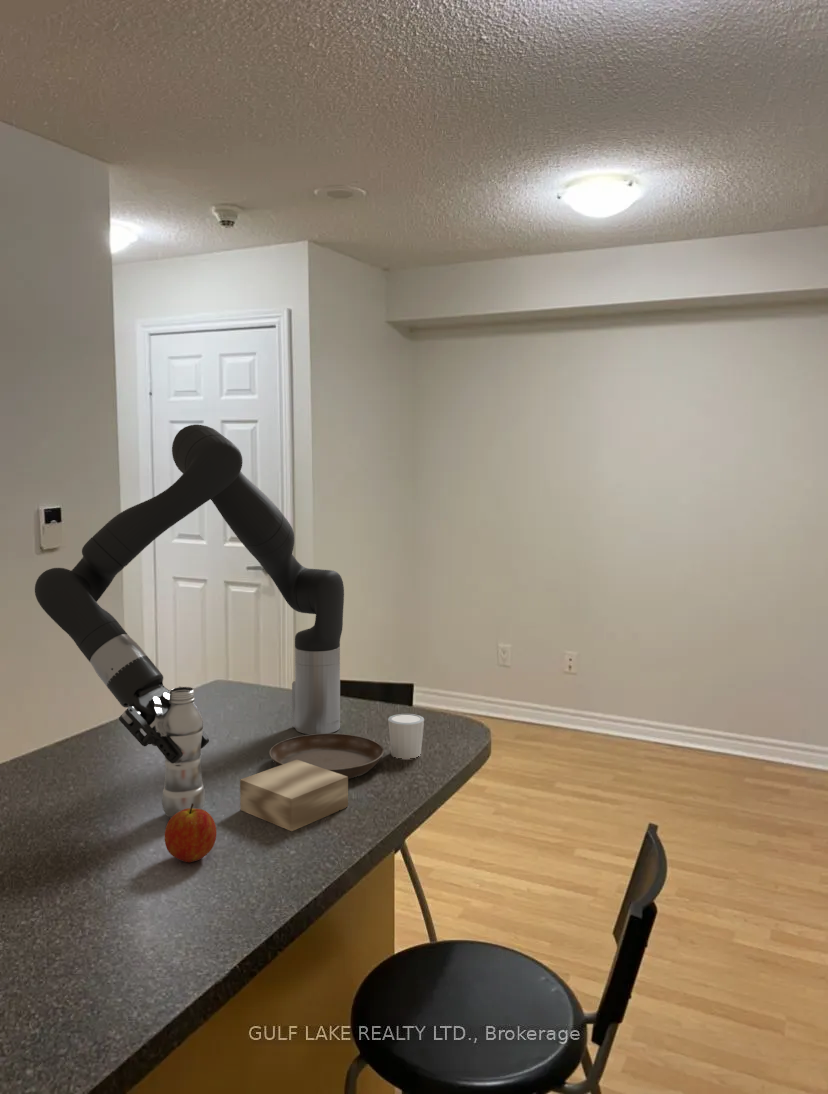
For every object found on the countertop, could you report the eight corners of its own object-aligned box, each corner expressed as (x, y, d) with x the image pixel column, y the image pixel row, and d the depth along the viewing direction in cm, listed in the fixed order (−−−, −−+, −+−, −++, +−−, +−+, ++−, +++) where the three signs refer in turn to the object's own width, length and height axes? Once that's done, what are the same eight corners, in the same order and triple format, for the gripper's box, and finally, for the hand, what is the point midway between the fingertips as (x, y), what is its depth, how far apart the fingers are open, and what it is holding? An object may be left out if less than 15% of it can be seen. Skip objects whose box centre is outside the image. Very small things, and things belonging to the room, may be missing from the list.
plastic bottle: (214, 810, 134) (212, 686, 132) (189, 827, 127) (187, 697, 125) (179, 804, 136) (176, 682, 134) (153, 821, 129) (150, 693, 127)
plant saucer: (322, 741, 168) (322, 725, 168) (406, 763, 156) (406, 745, 156) (245, 770, 151) (245, 753, 151) (332, 797, 139) (332, 778, 139)
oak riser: (240, 810, 134) (240, 779, 133) (296, 788, 143) (296, 759, 142) (291, 831, 126) (291, 799, 125) (347, 806, 135) (347, 776, 135)
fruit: (154, 865, 115) (153, 809, 114) (184, 844, 121) (183, 790, 121) (197, 874, 113) (196, 816, 112) (226, 852, 119) (225, 797, 118)
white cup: (425, 749, 163) (425, 713, 162) (422, 761, 156) (422, 724, 156) (390, 747, 164) (390, 712, 163) (385, 759, 157) (385, 723, 156)
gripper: (108, 665, 125) (178, 752, 122) (168, 646, 138) (232, 724, 135) (81, 696, 127) (148, 783, 124) (142, 674, 141) (204, 752, 138)
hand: (191, 752), depth 130 cm, fingers closed on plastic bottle, 6 cm apart
